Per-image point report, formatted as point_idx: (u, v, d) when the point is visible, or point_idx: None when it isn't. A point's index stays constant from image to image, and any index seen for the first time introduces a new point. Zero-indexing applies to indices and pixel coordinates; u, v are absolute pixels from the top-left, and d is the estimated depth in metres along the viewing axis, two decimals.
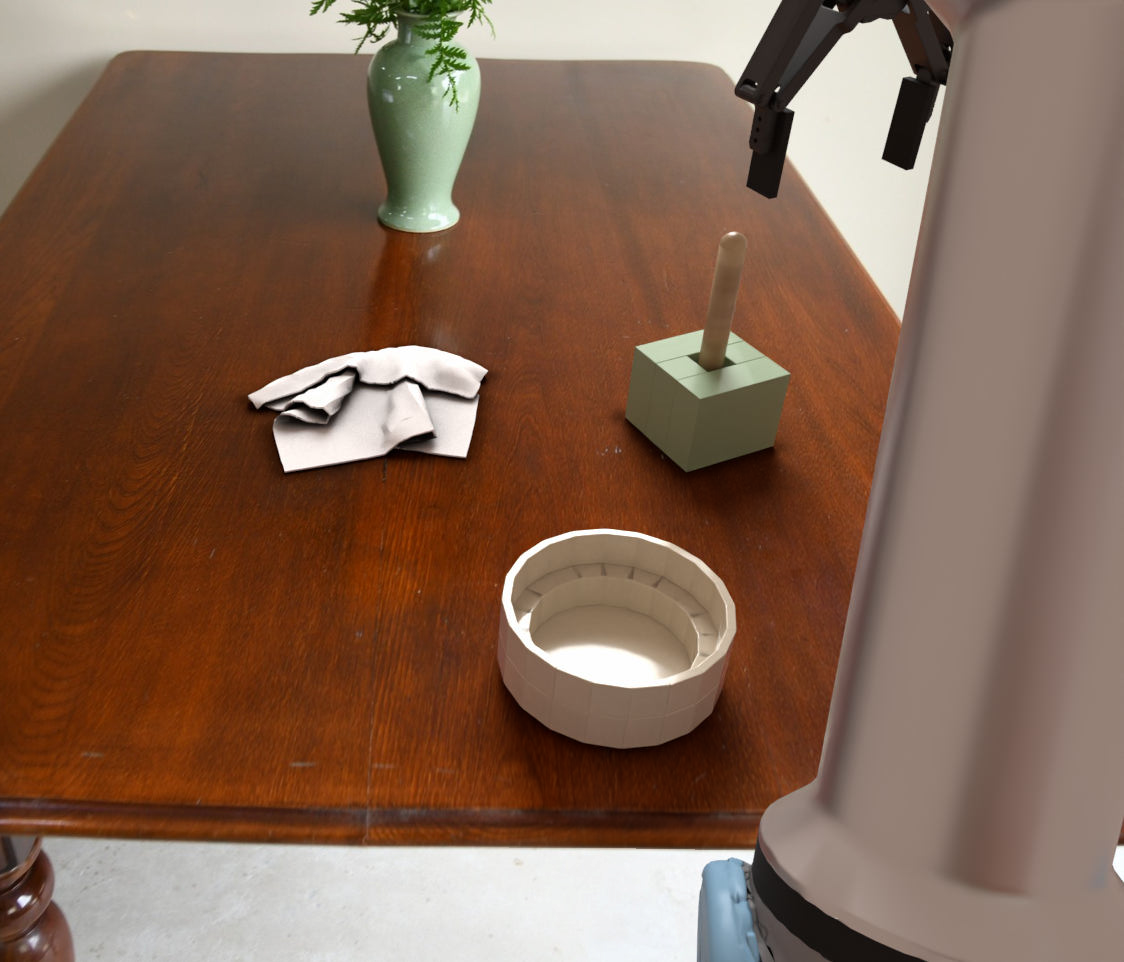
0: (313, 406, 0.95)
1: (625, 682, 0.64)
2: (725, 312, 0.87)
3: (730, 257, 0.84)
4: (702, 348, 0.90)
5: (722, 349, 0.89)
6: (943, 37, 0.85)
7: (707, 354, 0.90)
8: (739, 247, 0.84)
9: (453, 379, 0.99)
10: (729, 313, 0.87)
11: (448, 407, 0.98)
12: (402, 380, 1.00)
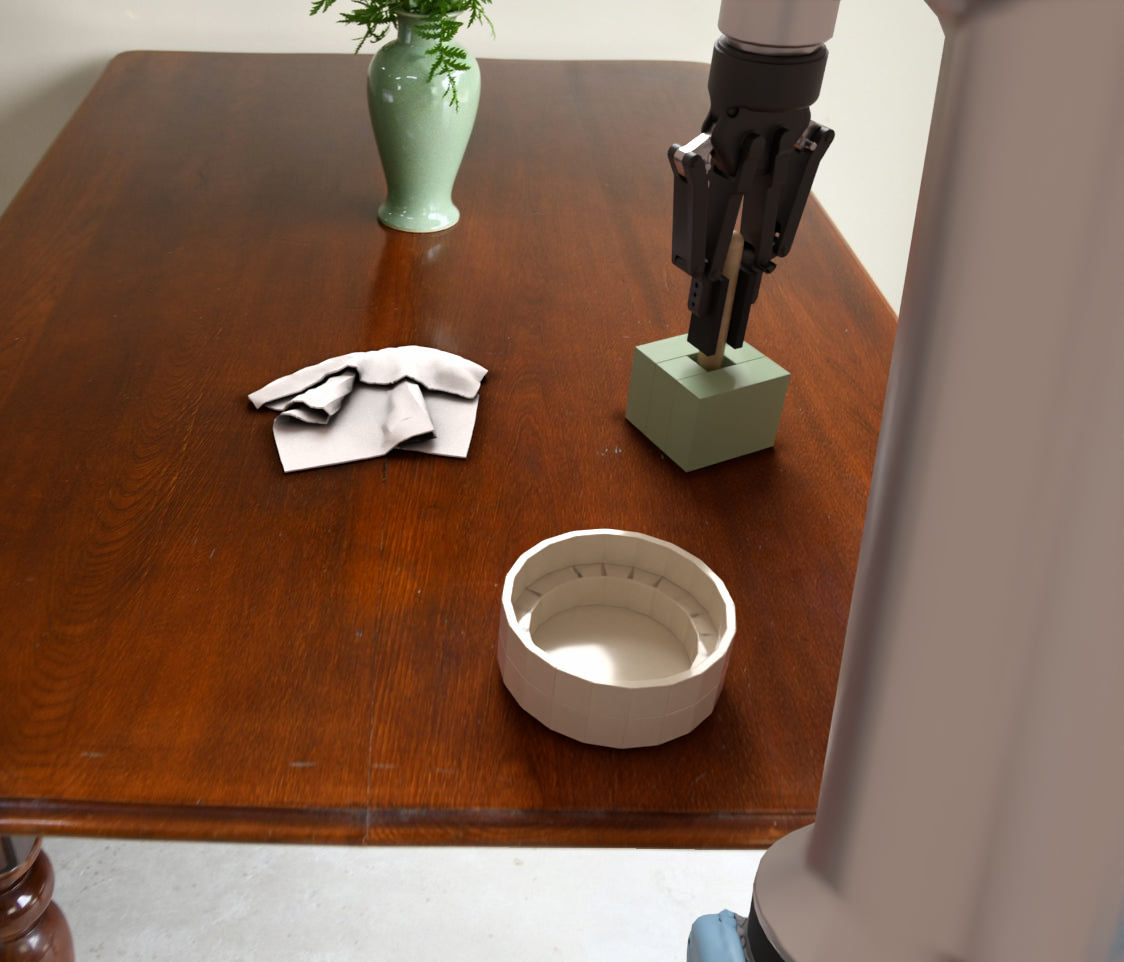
0: (313, 406, 0.95)
1: (625, 682, 0.64)
2: None
3: (727, 255, 0.85)
4: None
5: (721, 348, 0.89)
6: (778, 215, 0.85)
7: None
8: (736, 245, 0.84)
9: (453, 379, 0.99)
10: (727, 311, 0.88)
11: (448, 407, 0.98)
12: (402, 380, 1.00)
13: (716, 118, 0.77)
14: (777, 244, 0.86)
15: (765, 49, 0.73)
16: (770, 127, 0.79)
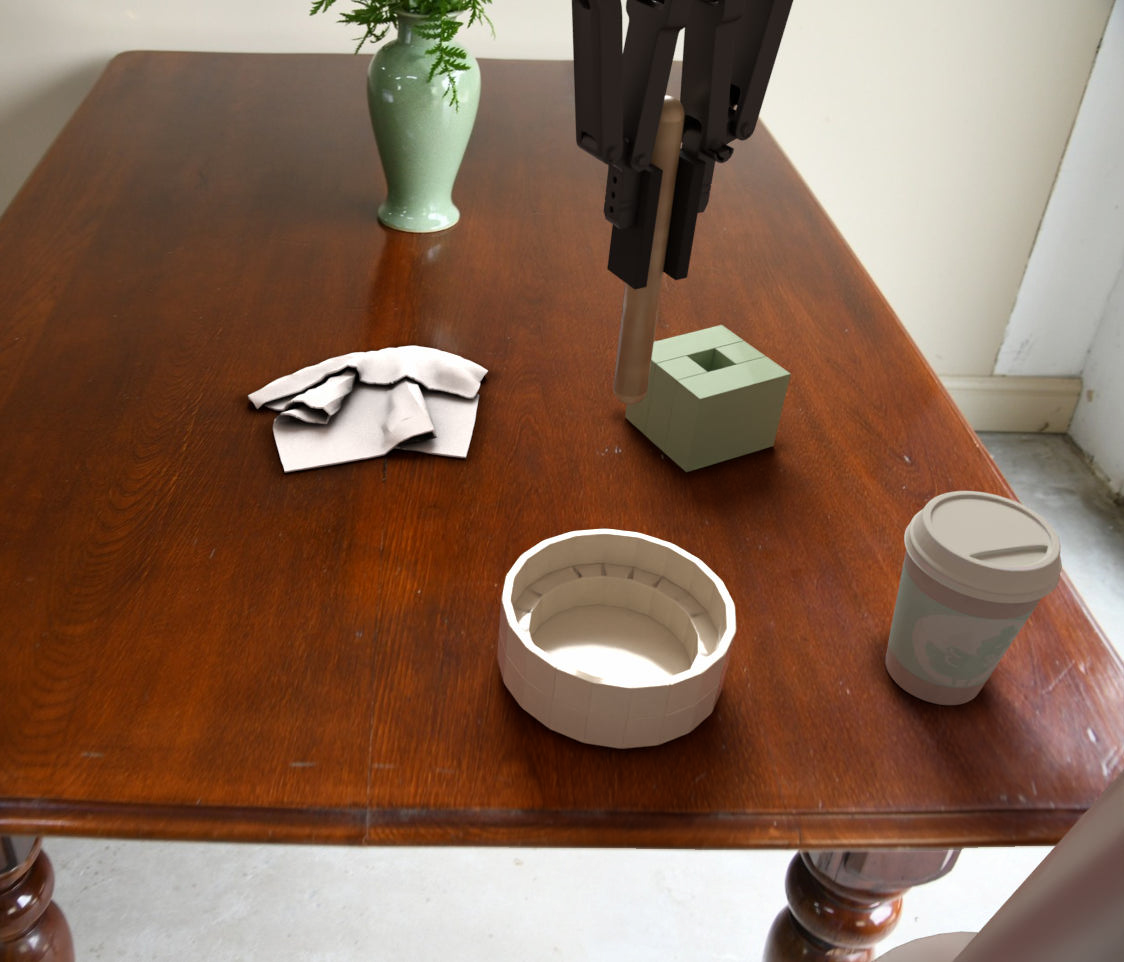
0: (313, 406, 0.95)
1: (625, 682, 0.64)
2: (656, 220, 0.59)
3: (659, 133, 0.57)
4: None
5: (655, 277, 0.61)
6: (737, 75, 0.57)
7: None
8: (672, 117, 0.56)
9: (453, 379, 0.99)
10: (662, 222, 0.60)
11: (448, 407, 0.98)
12: (402, 380, 1.00)
13: None
14: (735, 119, 0.58)
15: None
16: None
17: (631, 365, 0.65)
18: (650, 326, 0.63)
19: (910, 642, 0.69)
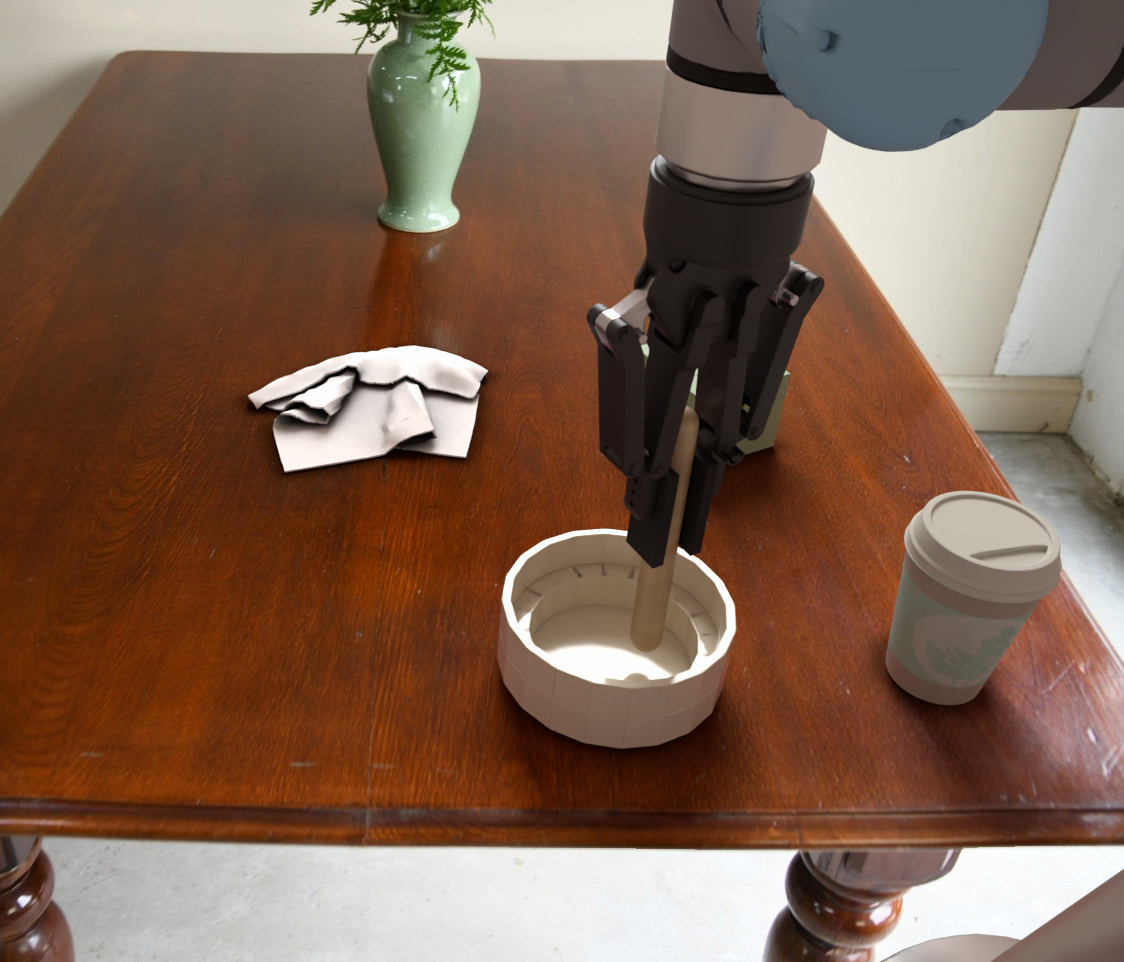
0: (313, 406, 0.95)
1: (625, 682, 0.64)
2: None
3: (676, 441, 0.61)
4: None
5: (671, 553, 0.66)
6: (747, 385, 0.62)
7: None
8: (688, 429, 0.61)
9: (453, 379, 0.99)
10: (678, 510, 0.64)
11: (448, 407, 0.98)
12: (402, 380, 1.00)
13: (653, 271, 0.54)
14: (746, 424, 0.62)
15: (721, 182, 0.50)
16: (732, 281, 0.55)
17: (647, 623, 0.69)
18: (665, 591, 0.68)
19: (910, 642, 0.69)
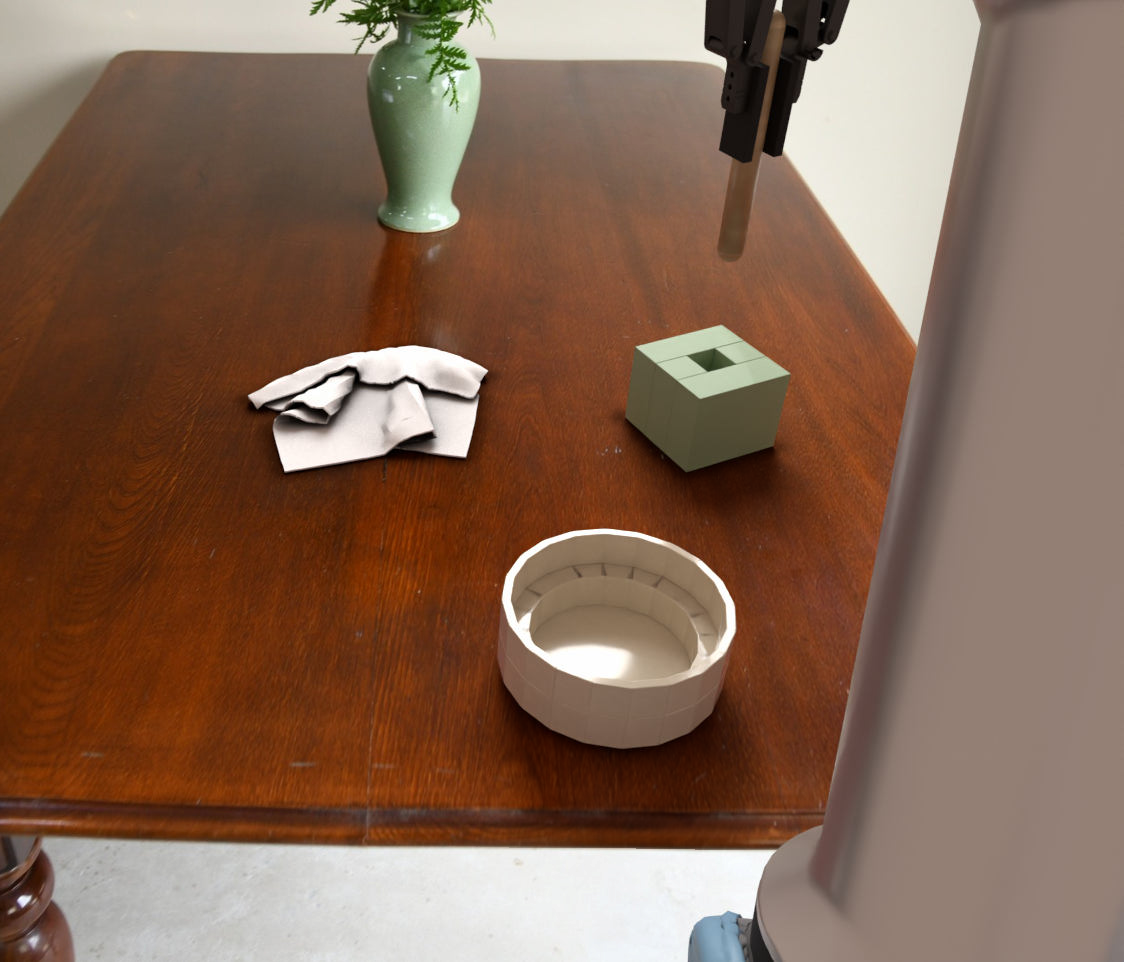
0: (313, 406, 0.95)
1: (625, 682, 0.64)
2: None
3: (767, 37, 0.74)
4: None
5: (757, 154, 0.79)
6: None
7: None
8: (777, 24, 0.74)
9: (453, 379, 0.99)
10: (765, 109, 0.77)
11: (448, 407, 0.98)
12: (402, 380, 1.00)
13: None
14: (823, 28, 0.75)
15: None
16: None
17: (734, 228, 0.82)
18: (751, 195, 0.81)
19: None
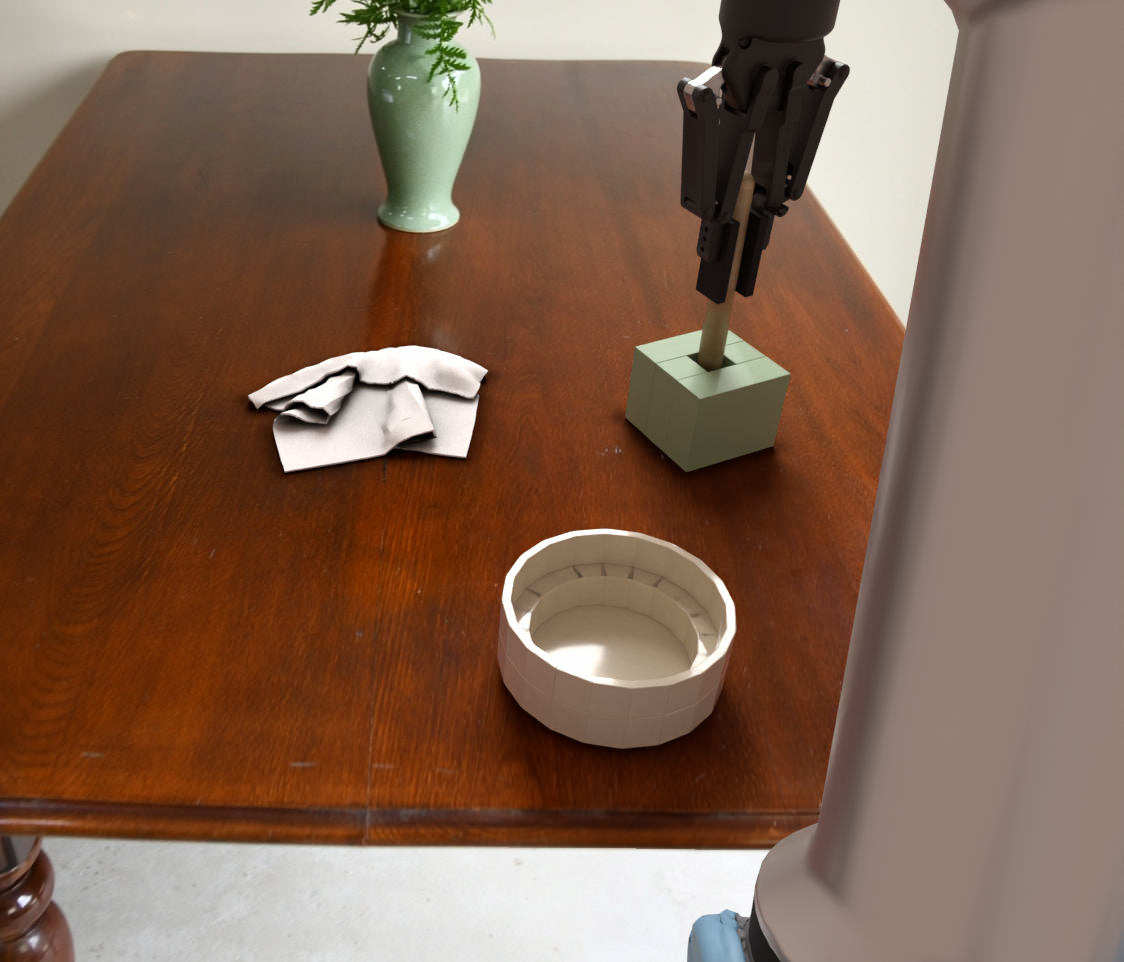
0: (313, 406, 0.95)
1: (625, 682, 0.64)
2: None
3: None
4: None
5: (730, 295, 0.87)
6: (791, 156, 0.82)
7: None
8: (746, 185, 0.82)
9: (453, 379, 0.99)
10: (737, 256, 0.85)
11: (448, 407, 0.98)
12: (402, 380, 1.00)
13: (727, 50, 0.75)
14: (789, 186, 0.83)
15: None
16: (783, 60, 0.76)
17: (710, 357, 0.90)
18: (725, 329, 0.89)
19: None
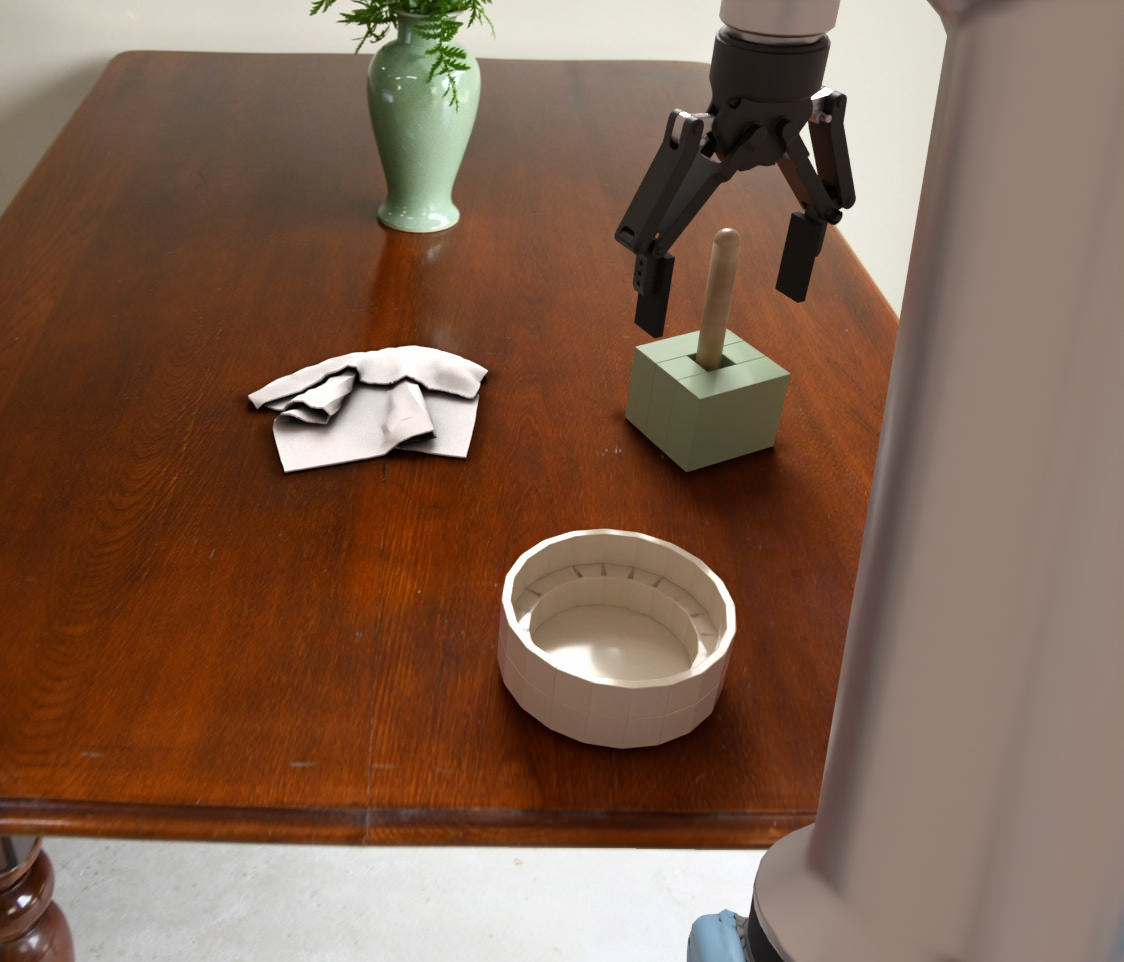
0: (313, 406, 0.95)
1: (625, 682, 0.64)
2: (720, 308, 0.88)
3: (724, 253, 0.85)
4: (699, 346, 0.90)
5: (719, 346, 0.90)
6: (829, 176, 0.85)
7: (704, 351, 0.90)
8: (733, 243, 0.85)
9: (453, 379, 0.99)
10: (725, 310, 0.88)
11: (448, 407, 0.98)
12: (402, 380, 1.00)
13: (717, 108, 0.77)
14: (840, 201, 0.86)
15: (767, 39, 0.73)
16: (767, 128, 0.79)
17: None
18: None
19: None
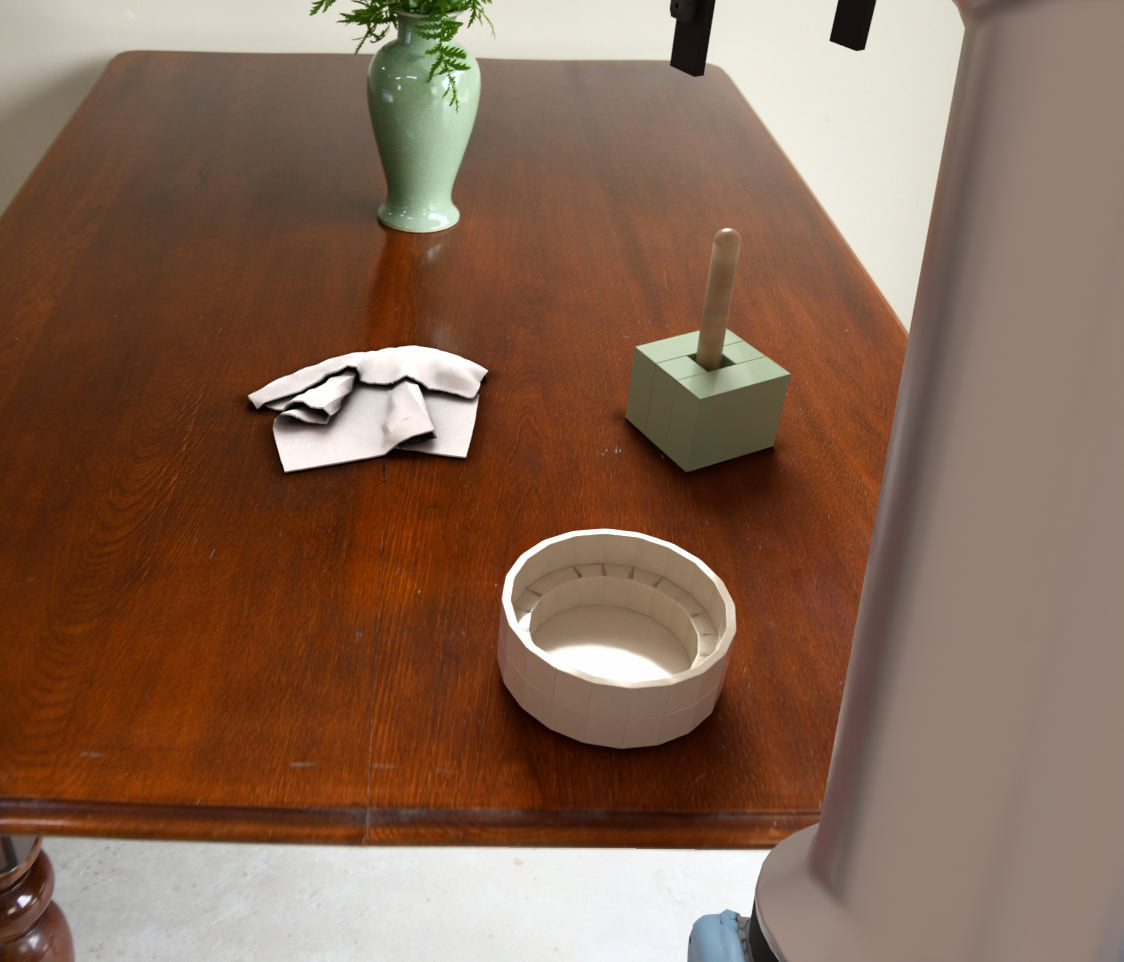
0: (313, 406, 0.95)
1: (625, 682, 0.64)
2: (720, 308, 0.88)
3: (724, 253, 0.85)
4: (699, 346, 0.90)
5: (719, 346, 0.90)
6: None
7: (704, 351, 0.90)
8: (733, 243, 0.85)
9: (453, 379, 0.99)
10: (725, 310, 0.88)
11: (448, 407, 0.98)
12: (402, 380, 1.00)
13: None
14: None
15: None
16: None
17: None
18: None
19: None
